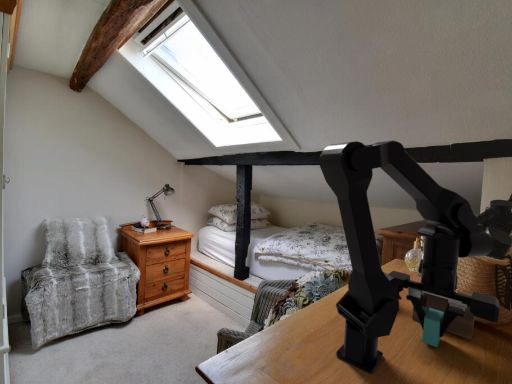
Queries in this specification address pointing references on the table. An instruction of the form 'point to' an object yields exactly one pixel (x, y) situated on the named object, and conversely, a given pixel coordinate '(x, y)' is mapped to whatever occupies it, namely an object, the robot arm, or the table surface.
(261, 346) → the table surface
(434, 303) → the wooden box
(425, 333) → the teal block
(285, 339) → the table surface
